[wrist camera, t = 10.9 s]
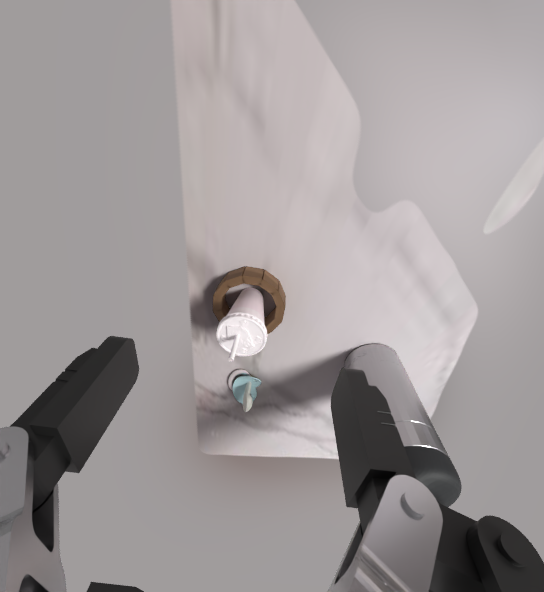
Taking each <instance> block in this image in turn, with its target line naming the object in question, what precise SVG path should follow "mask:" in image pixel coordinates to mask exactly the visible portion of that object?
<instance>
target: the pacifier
mask: <svg viewBox="0 0 544 592" xmlns="http://www.w3.org/2000/svg"><path fill="white" fill-rule="evenodd" d="M239 374H243V375H245V376H240V377H238V378H236V380H235V381H234V384H233V379H234V377H235V376H237V375H239ZM260 384H261V380H260V379H257V378H255V377H252V376H250V374H249V373H248V372H247V371H246V370H242V369H239V370H236V371H234V372H233V373H232V374H231V375H230V376H229V379H228V385H229V388H230V389H231V390H232V391H233V394H234V397H235V398H236V400H237V401H238V402H240V403H242V404H243V410H244V412H248V411H249V410H250V409H251V407H252V403H253V401H254V400H255V398H256V395H257V391H256V387H258V386H259V385H260ZM250 394H251V395H252V396H251V395H250Z"/></svg>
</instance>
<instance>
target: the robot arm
mask: <svg viewBox="0 0 544 592" xmlns="http://www.w3.org/2000/svg"><path fill="white" fill-rule="evenodd" d="M138 372H139V365H138V360H137V354H136V349H135V344H134V341H133V339H130V338H123V337H115V336H110V337H108V338H107V339H106V340H105V341H104V342H103V343H102V344H101V345H100V346H99V347H98V349H95V348H91V349H90V350H88V351H86V352H85V353H83V354H82V355H80V356H78V357H77V358H76V359H75V360H74V361H73V362H72V363H71V364H70V365H69V366H68V367H67V368H66V369H65V372H62V373H61V374H60V375H59V376H58V378H57V379H56V381H55V382H53V383H52V384H51V385H50V386H49V387H48V388H47V389H46V390H45V391H44V392H43V393H42V394H41V395H40V396H39V397H38V398H37V399H36V400H35V401H34V403H33V404H32V405H31V406H30V407H29V408H28V409H27V410H26V411H25V412H24V413H23V414H22V415H21V416H20V417H19V418H18V419H17V420H16V421H15V422H14V423H13V424H12V425H11V426H10V427H4V428H0V592H66V581H65V574H64V570H63V566H62V563H61V558H60V549H59V504H58V503H59V499H58V484H57V483H58V481H59V480H60V478H61V477H62V475H63V473H64V472H65V471H67V472H76V473H79V472H80V471H81V469H82V468H83V466H84V464H85V462H86V461H87V459H88V458H89V456H90V455H91V453H92V451H93V450H94V448H95V447H96V445H97V443H98V442H99V440H100V439H101V437H102V435H103V434H104V432H105V431H106V429H107V427H108V426H109V424H110V422H111V421H112V419H113V418H114V416H115V414H116V413H117V411H118V410H119V408H120V406H121V405H122V403H123V402H124V400H125V398H126V397H127V395H128V394H129V392H130V390H131V389H132V387H133V385H134V384H135V382H136V380H137V376H138ZM331 411H332V418H333V424H334V430H335V436H336V443H337V449H338V455H339V461H340V468H341V474H342V480H343V487H344V493H345V500H346V506H347V507H353V508H358V511H359V517H360V522H359V523H358V526H357V528H356V530H355V532H354V535H353V537H352V539H351V541H350V543H349V546H348V548H347V550H346V552H345V555H344V557H343V559H342V561H341V564H340V566H339V568H338V570H337V572H336V575H335V577H334V579H333V581H332V584H331V586H330V587H329V589H328V592H544V563H543V561H542V559H541V557H540V556H539V554H538V552H537V551H536V549H535V548H534V547H533V545H532V544H531V543H530V542H529V540H528V539H527V538H526V537H525V536H524V535H523V534H522V533H521V532H520V531H519V530H518V529H517V528H515V527H514V526H513V525H511V524H510V523H508V522H507V521H505V520H503V519H501V518H499V517H495V516H485V517H483V518H481V519H480V520H479V521H475V520H473V519H471V518H469V517H466V516H464V515H462V514H460V513H458V512H456V511H454V510H452V509H450V508H448V507H449V506H450V505H451V504H453V503H454V502H455V501H456V500H457V498H458V497H459V495H460V493H461V482H460V478H459V476H458V473H457V471H456V469H455V467H454V465H453V464H452V462H451V460H450V458H449V456H448V454H447V452H446V450H445V448H444V446H443V444H442V442H441V440H440V438H439V436H438V434H437V433H436V430H435V428H434V426H433V425H432V422H431V420H430V418H429V416H428V414H427V412H426V410H425V408H424V406H423V405H422V403H421V401H420V399H419V397H418V395H417V393H416V391H415V389H414V387H413V385H412V383H411V381H410V379H409V377H408V375H407V373H406V370H405V368H404V367H403V365H402V363H401V361H400V359H399V357H398V355H397V353H396V352H395V351H394V350H393V349H392V348H390V347H388V346H385V345H382V344H368V345H364V346H361V347H359V348H357V349H355V350H354V351H352V352H351V353H350V354H349V355H348V357H347V358H346V361H345V368H342V369H341V371H340V374H339V377H338V379H337V382H336V385H335V387H334V390H333V393H332V397H331ZM87 592H144V591H142V590H140V589H138V588H137V587H132V586H122V585H113V584H105V583H96V582H91V584H90V586H89V588H88V590H87Z"/></svg>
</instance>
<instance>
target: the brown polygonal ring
mask: <svg viewBox="0 0 544 592" xmlns="http://www.w3.org/2000/svg"><path fill="white" fill-rule="evenodd" d="M243 283H245V284H251V285H257V286H260V287H261V288H263V289H264V290H266V291H267V292H268V293H270V294H271V295H272V297H273V300H274V302H275V304H276V308H275V309H274V310H273V311H272V312H271V313H270V314H269V315H268V316H267V317H264V324H265V327H266V329H267V334H269V333H270V332H272V331H273V330H274V329H275V328H276V327H277V326H278V325H279V324H280V323H281V322H282V320H283V315H284V310H285V297H286V296H285V293H284V291H283V288H282V286H281V284H280V281H279V280H278V279H277V278H275V277H274V276H273V275H271V274H270V273H269V272H267V271H266V270H264V269H259V268H253V267H247V266H246V268H245V267H242V268H239V269H236V270H234V271H231V272H229V273H227V275H226V276H225V277H224V278H223V280H222V281H221V282H220V284H219V285H218V287H217V289H216V291H215V293H214V295H213V312H214V314H215V316H216V317H217V319H218V321H219V322H220V321H221V320H222V319H223V318H224V317H225V316H226V315H227V314H228V312H229V311H230V308H229V306H228V304H227V302H226V300H225V296H226V292H227V291H228V290H229V288H231V287H234V286H237V285H240V284H243Z"/></svg>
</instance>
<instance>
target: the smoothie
mask: <svg viewBox="0 0 544 592" xmlns="http://www.w3.org/2000/svg"><path fill="white" fill-rule="evenodd" d="M216 337H217V340H218V343H219V344H220V346H221V347H222V348H223V349H224V350H226V351H227V352H229V353H230V356H229V361H230V362H233V360H234V357H235V355H237V356H251V355H254V354H256V353H258V352H260V351H261V350H262V349H263V347H264V346H265V343H266V340H267V329H266V327H265V324H264V306H263V296H262V294H261V292H260V291H259V290H257V289H255V288H246V289H244V290H243V291H242V292H241V293H240V295H239V296H238V298H237V300H236V301H235V303H234V304H233V306H232V308H231V309H230V311H229V312H228V314H227V315H226V316H225V317H224V318H223V319H222V320H221V321H220V322H219V325H218V328H217V332H216Z"/></svg>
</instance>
